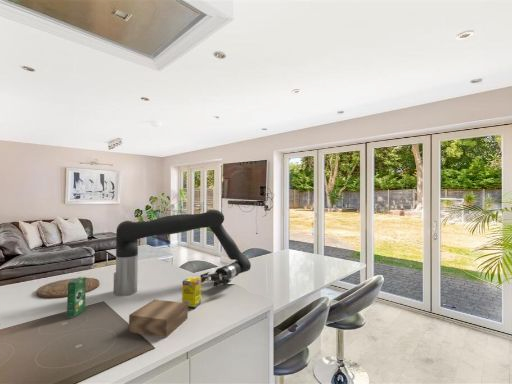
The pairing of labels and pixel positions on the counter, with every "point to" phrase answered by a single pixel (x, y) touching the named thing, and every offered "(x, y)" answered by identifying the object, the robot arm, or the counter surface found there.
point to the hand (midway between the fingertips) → (206, 282)
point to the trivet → (63, 288)
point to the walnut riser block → (158, 318)
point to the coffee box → (76, 297)
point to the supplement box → (191, 291)
